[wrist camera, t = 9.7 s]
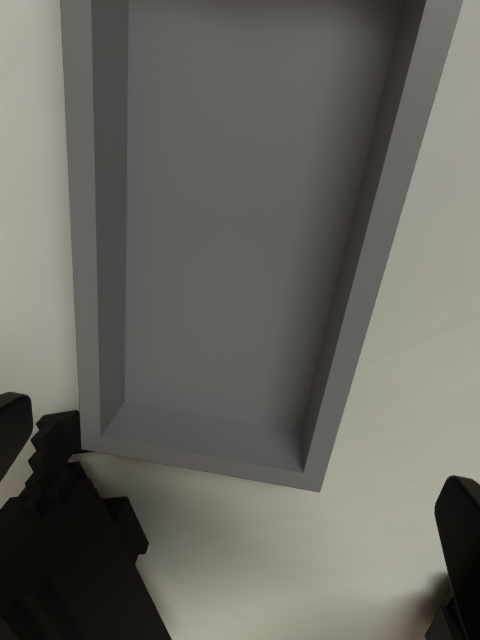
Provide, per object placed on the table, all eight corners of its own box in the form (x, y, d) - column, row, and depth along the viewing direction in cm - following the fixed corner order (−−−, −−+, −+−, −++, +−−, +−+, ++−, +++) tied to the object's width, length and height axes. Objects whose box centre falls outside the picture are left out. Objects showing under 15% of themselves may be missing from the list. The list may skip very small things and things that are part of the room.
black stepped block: (118, 397, 22) (-1, 560, 13) (202, 597, 28) (163, 804, 19) (19, 412, 23) (-154, 571, 14) (120, 601, 30) (47, 796, 20)
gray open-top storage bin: (450, -89, 13) (530, -213, 9) (313, 437, 21) (320, 499, 17) (113, -125, 13) (39, -256, 9) (114, 402, 22) (77, 454, 18)
